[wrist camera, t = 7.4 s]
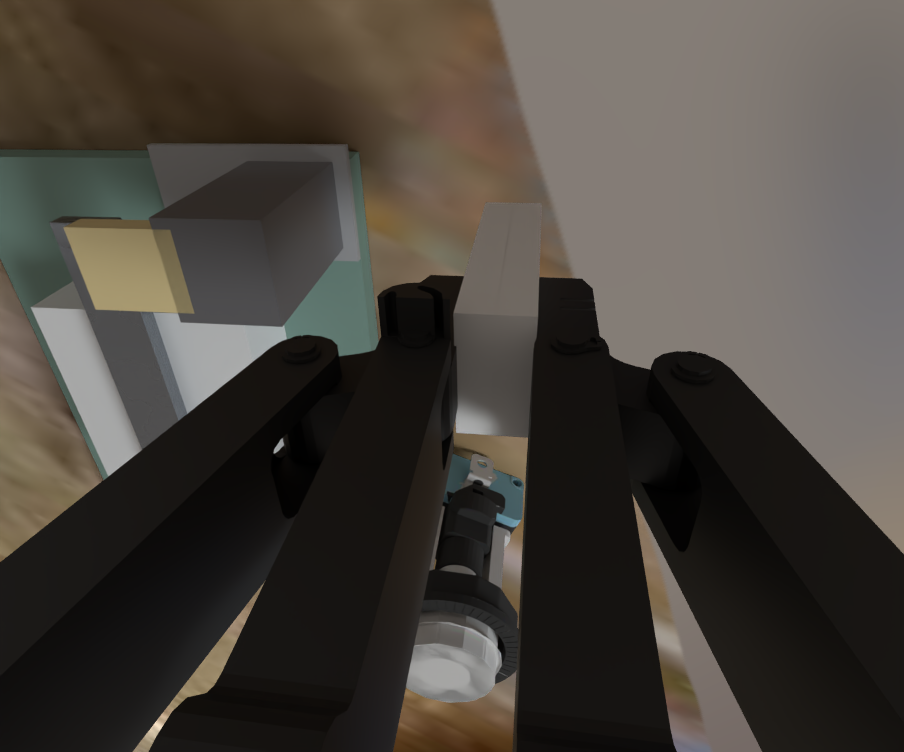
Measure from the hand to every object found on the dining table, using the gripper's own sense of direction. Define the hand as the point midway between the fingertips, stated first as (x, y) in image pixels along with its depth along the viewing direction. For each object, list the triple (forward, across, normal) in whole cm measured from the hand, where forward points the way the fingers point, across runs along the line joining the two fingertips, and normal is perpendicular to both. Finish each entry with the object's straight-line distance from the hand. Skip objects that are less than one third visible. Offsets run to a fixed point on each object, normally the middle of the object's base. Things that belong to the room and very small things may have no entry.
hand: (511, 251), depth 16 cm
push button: (+6, -2, -13) cm, 15 cm away
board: (+5, -13, -8) cm, 16 cm away
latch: (+4, -9, 0) cm, 10 cm away
